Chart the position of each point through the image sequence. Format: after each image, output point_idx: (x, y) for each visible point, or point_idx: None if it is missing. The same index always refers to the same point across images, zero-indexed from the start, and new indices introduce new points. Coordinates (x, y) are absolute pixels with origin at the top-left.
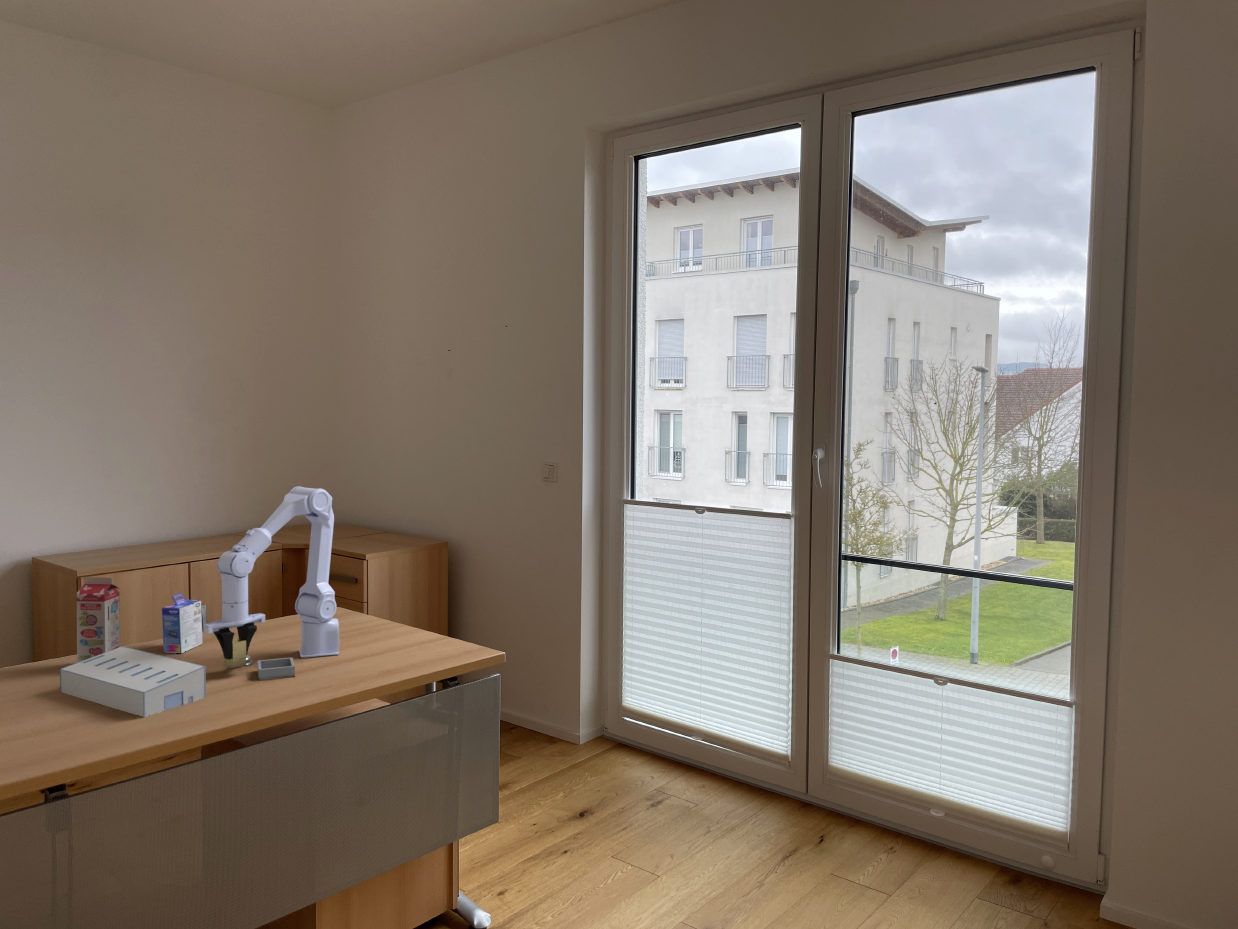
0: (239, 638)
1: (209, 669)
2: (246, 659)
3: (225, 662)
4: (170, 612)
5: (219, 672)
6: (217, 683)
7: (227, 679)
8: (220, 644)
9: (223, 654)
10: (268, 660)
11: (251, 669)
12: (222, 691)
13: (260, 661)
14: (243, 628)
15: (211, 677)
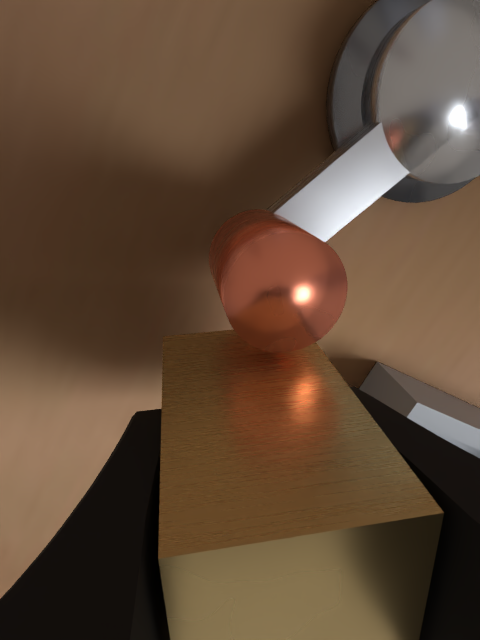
0: (429, 555)
1: (133, 8)
2: (447, 181)
3: (163, 355)
4: None
5: (162, 193)
6: (34, 445)
7: (129, 407)
8: (51, 555)
9: (123, 436)
10: (466, 442)
11: (372, 301)
12: (4, 592)
13: (419, 423)
14: None
15: (50, 282)
